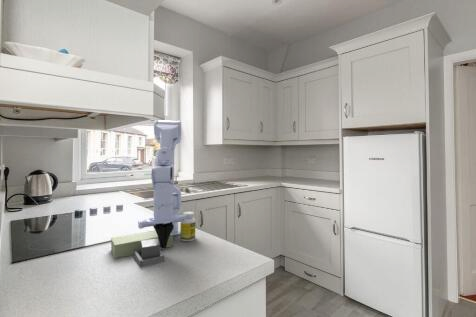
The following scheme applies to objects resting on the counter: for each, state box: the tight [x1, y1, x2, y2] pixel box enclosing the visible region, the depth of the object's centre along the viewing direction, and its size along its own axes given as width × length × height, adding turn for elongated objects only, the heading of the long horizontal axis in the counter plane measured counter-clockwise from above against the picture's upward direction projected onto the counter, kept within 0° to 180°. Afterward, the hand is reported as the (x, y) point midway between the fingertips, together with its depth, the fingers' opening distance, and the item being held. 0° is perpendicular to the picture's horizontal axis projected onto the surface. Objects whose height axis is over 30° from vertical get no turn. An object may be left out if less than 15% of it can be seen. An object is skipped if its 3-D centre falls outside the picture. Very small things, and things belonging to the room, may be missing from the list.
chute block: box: [140, 238, 161, 260], centre depth 77 cm, size 6×5×4 cm
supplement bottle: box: [179, 211, 196, 242], centre depth 93 cm, size 5×5×10 cm
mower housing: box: [110, 230, 174, 268], centre depth 80 cm, size 18×18×4 cm
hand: (163, 247), depth 79 cm, fingers closed
